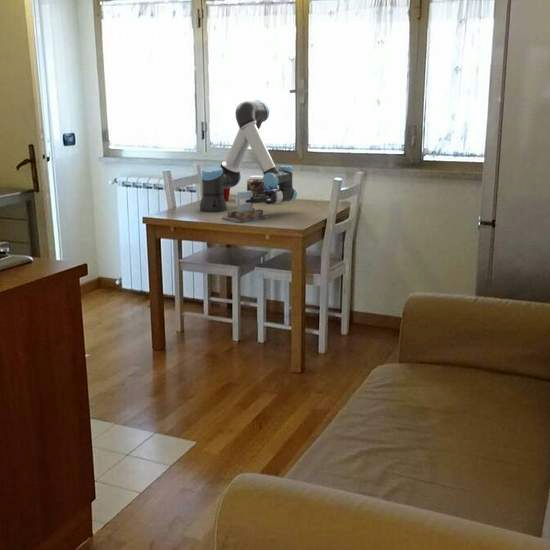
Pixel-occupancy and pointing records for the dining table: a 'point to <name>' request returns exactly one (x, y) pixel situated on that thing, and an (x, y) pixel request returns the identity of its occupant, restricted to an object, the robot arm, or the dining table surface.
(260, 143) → the robot arm
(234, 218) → the slot rack
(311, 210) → the dining table surface
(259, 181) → the jar
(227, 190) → the plastic cup
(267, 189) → the blue gear
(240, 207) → the pale grey panel
